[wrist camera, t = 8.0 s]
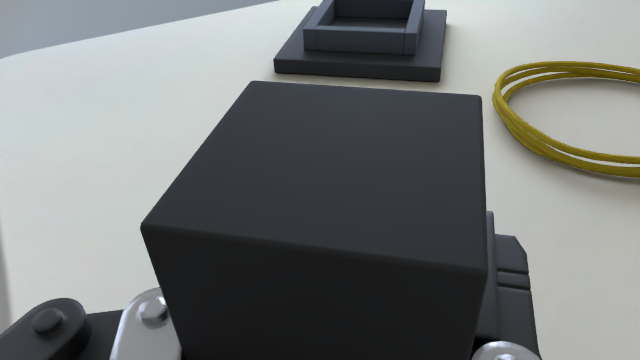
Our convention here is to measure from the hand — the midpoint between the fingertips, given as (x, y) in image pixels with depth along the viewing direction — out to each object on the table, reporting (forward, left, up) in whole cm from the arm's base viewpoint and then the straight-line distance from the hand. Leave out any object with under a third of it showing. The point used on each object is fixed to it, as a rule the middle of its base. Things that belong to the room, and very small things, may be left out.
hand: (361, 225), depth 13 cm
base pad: (-4, +26, -6) cm, 27 cm away
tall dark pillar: (0, -3, -6) cm, 7 cm away
